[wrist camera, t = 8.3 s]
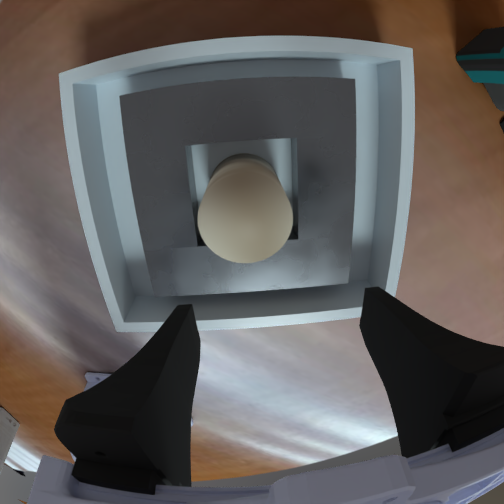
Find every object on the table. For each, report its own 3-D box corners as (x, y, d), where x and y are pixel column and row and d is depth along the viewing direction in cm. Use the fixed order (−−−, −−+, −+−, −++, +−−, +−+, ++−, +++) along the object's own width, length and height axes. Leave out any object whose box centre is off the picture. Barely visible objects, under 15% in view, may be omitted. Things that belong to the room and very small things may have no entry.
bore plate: (161, 280, 21) (154, 296, 19) (131, 96, 15) (119, 95, 14) (339, 267, 21) (348, 283, 19) (343, 80, 15) (355, 78, 14)
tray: (130, 301, 22) (116, 332, 19) (88, 76, 15) (58, 73, 12) (373, 283, 22) (391, 312, 19) (384, 55, 15) (412, 48, 12)
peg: (214, 222, 19) (206, 267, 14) (205, 158, 17) (190, 181, 12) (281, 215, 19) (295, 258, 14) (275, 149, 17) (289, 169, 12)
